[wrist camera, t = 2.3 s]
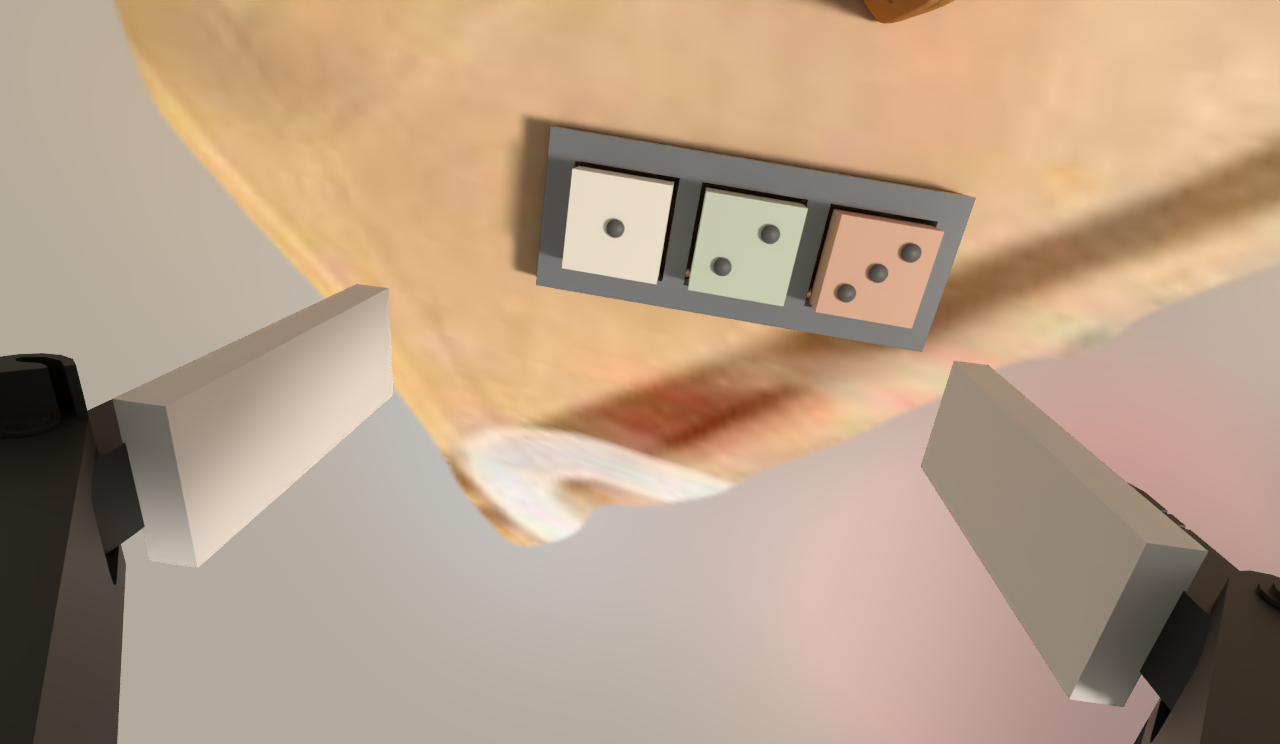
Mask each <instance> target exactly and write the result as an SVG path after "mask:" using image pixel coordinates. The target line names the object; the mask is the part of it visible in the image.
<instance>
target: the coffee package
mask: <svg viewBox="0 0 1280 744" xmlns="http://www.w3.org/2000/svg"><path fill="white" fill-rule="evenodd" d="M863 1H864V3H865V5H866V6H867V8H868V9H869V11H870V12H871V13H872V15H873V16H874V17H875V19H876V20H877V21H879V22H881V23H894V22H898V21H902V20H905V19H908V18H911V17H914V16H916V15H919V14H923V13H926V12H929V11H932V10H934V9H937V8H940V7H942V6H945V5H947V4H948V3H950V2H952V1H954V0H863Z"/></svg>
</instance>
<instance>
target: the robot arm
mask: <svg viewBox="0 0 1280 744" xmlns="http://www.w3.org/2000/svg"><path fill="white" fill-rule="evenodd" d="M392 395H393V379H392V358H391V337H390V315H389V294H388V288H382V287H374V286H367V285H359V284H356V285H354V286H352V287H350V288H347V289H345V290H343V291H341V292H339V293H337V294H335V295H333V296H330V297H328V298H326V299H324V300H322V301H320V302H318V303H316V304H314V305H311V306H309V307H307V308H305V309H303V310H301V311H299V312H296V313H295V314H293V315H290V316H288V317H286V318H284V319H282V320H280V321H278V322H276V323H273V324H271V325H269V326H267V327H265V328H262V329H260V330H258V331H256V332H254V333H252V334H250V335H248V336H245V337H243V338H241V339H239V340H237V341H235V342H233V343H231V344H228V345H226V346H224V347H222V348H220V349H218V350H216V351H214V352H211V353H209V354H208V355H205V356H203V357H201V358H199V359H197V360H194V361H192V362H190V363H188V364H186V365H184V366H182V367H179V368H177V369H175V370H173V371H171V372H169V373H167V374H165V375H162V376H160V377H158V378H156V379H154V380H152V381H150V382H148V383H145V384H143V385H141V386H139V387H137V388H135V389H133V390H131V391H128V392H126V393H124V394H122V395H120V396H118V397H116V398H114V399H112V400H109V401H107V402H105V403H103V404H101V405H99V406H97V407H94V408H92V409H90V410H88V411H87V408H86V404H85V400H84V396H83V392H82V388H81V384H80V380H79V376H78V372H77V368H76V365H75V363H74V361H73V359H71V358H68V357H65V356H62V355H54V354H43V353H40V354H18V355H10V356H3V357H0V744H117V735H118V713H119V694H120V673H121V652H122V632H123V612H124V589H125V571H126V570H125V569H126V563H125V559H124V555H123V551H122V547H121V543H123V542H124V541H125V540H127V539H128V538H130V537H131V536H132V535H134V534H135V533H137V532H138V531H139V530H141V529H142V528H143V532H144V537H145V541H146V545H147V550H148V554H149V558H150V561H156V562H163V563H169V564H176V565H182V566H189V567H195V568H198V567H199V566H200V565H201V564H203V563H204V562H205V561H206V560H207V559H208V558H209V557H211V556H212V555H213V554H214V553H215V552H216V551H217V550H218V549H220V548H221V547H222V546H223V545H224V544H225V543H226V542H227V541H229V540H230V539H231V538H232V537H233V536H234V535H235V534H236V533H238V532H239V531H240V530H241V529H242V528H243V527H244V526H246V525H247V524H248V523H249V522H250V521H251V520H252V519H253V518H255V517H256V516H257V515H258V514H259V513H260V512H261V511H263V510H264V509H265V508H266V507H267V506H268V505H269V504H270V503H271V502H273V501H274V500H275V499H276V498H277V497H278V496H279V495H281V494H282V493H283V492H284V491H285V490H286V489H287V488H288V487H290V486H291V485H292V484H293V483H294V482H295V481H296V480H298V479H299V478H300V477H301V476H302V475H303V474H304V473H305V472H307V471H308V470H309V469H310V468H311V467H312V466H313V465H314V464H316V463H317V462H318V461H319V460H320V459H321V458H322V457H323V456H325V455H326V454H327V453H328V452H329V451H330V450H331V449H333V448H334V447H335V446H336V445H337V444H338V443H339V442H340V441H342V440H343V439H344V438H345V437H346V436H347V435H348V434H349V433H351V432H352V431H353V430H354V429H355V428H356V427H357V426H358V425H360V424H361V423H362V422H363V421H364V420H365V419H366V418H367V417H369V416H370V415H371V414H372V413H373V412H374V411H375V410H377V409H378V408H379V407H380V406H381V405H382V404H383V403H384V402H386V401H387V400H388V399H389V398H390V397H391V396H392ZM921 468H922V469H923V471H924V472H925V474H926V476H927V477H928V479H929V480H930V482H931V483H932V485H933V486H934V488H935V490H936V491H937V493H938V494H939V496H940V498H941V499H942V501H943V502H944V504H945V505H946V507H947V509H948V510H949V512H950V513H951V515H952V516H953V518H954V519H955V521H956V522H957V524H958V526H959V527H960V529H961V530H962V532H963V534H964V535H965V537H966V538H967V540H968V541H969V543H970V545H971V546H972V548H973V549H974V551H975V552H976V554H977V556H978V557H979V559H980V560H981V562H982V563H983V565H984V566H985V568H986V570H987V571H988V573H989V574H990V576H991V577H992V579H993V581H994V582H995V584H996V585H997V587H998V588H999V590H1000V592H1001V593H1002V595H1003V596H1004V598H1005V599H1006V601H1007V603H1008V604H1009V606H1010V607H1011V609H1012V610H1013V612H1014V613H1015V615H1016V617H1017V618H1018V620H1019V621H1020V623H1021V624H1022V626H1023V627H1024V629H1025V631H1026V632H1027V634H1028V635H1029V637H1030V639H1031V640H1032V642H1033V643H1034V645H1035V646H1036V648H1037V649H1038V651H1039V653H1040V654H1041V656H1042V657H1043V659H1044V660H1045V662H1046V664H1047V665H1048V667H1049V668H1050V670H1051V671H1052V673H1053V675H1054V676H1055V678H1056V679H1057V681H1058V682H1059V684H1060V685H1061V687H1062V689H1063V690H1064V692H1065V693H1066V695H1067V696H1068V698H1069V699H1073V700H1079V701H1086V702H1092V703H1099V704H1105V705H1112V706H1119V707H1124V705H1125V703H1126V702H1127V700H1128V698H1129V696H1130V694H1131V692H1132V691H1133V689H1134V687H1135V685H1136V683H1137V681H1138V679H1139V678H1140V676H1141V674H1142V675H1143V677H1144V678H1145V679H1146V680H1147V681H1148V683H1149V684H1150V685H1151V687H1152V688H1153V689H1154V690H1155V692H1156V693H1157V694H1158V695H1159V697H1160V699H1159V701H1158V703H1157V704H1156V706H1155V708H1154V710H1153V711H1152V713H1151V715H1150V716H1149V718H1148V720H1147V722H1146V723H1145V725H1144V727H1143V729H1142V731H1141V732H1140V734H1139V736H1138V737H1137V739H1136V741H1135V743H1134V744H1280V578H1279V577H1276V576H1273V575H1270V574H1265V573H1260V572H1254V571H1239V570H1238V569H1237V568H1235V567H1234V566H1233V565H1232V564H1231V563H1229V562H1228V561H1227V560H1226V559H1225V558H1223V557H1222V556H1221V555H1220V554H1219V553H1217V552H1216V551H1215V550H1214V549H1213V548H1211V547H1210V546H1209V545H1208V544H1207V543H1205V542H1204V541H1203V540H1202V539H1201V538H1199V537H1198V536H1197V535H1196V534H1195V533H1193V532H1192V531H1191V530H1187V529H1185V527H1186V526H1185V525H1184V524H1183V523H1181V522H1180V521H1179V520H1178V519H1177V518H1175V517H1174V516H1173V515H1172V514H1167V510H1166V509H1165V508H1163V507H1162V506H1161V505H1160V504H1159V503H1157V502H1156V501H1155V500H1154V499H1153V498H1151V497H1150V496H1149V495H1148V494H1147V493H1145V492H1144V491H1142V490H1140V489H1138V488H1137V487H1135V486H1133V485H1131V484H1129V483H1128V482H1126V481H1125V480H1123V479H1122V478H1121V477H1120V476H1119V475H1118V474H1116V473H1115V472H1114V471H1113V470H1112V469H1110V468H1109V467H1108V466H1107V465H1106V464H1105V463H1103V462H1102V461H1101V460H1100V459H1098V458H1097V457H1096V456H1095V455H1094V454H1093V453H1092V452H1090V451H1089V450H1088V449H1087V448H1086V447H1084V446H1083V445H1082V444H1081V443H1080V442H1079V441H1077V440H1076V439H1075V438H1074V437H1073V436H1071V435H1070V434H1069V433H1068V432H1067V431H1065V430H1064V429H1063V428H1062V427H1061V426H1060V425H1058V424H1057V423H1056V422H1055V421H1054V420H1052V419H1051V418H1050V417H1049V416H1048V415H1046V414H1045V413H1044V412H1043V411H1042V410H1041V409H1039V408H1038V407H1037V406H1036V405H1035V404H1034V403H1032V402H1031V401H1030V400H1029V399H1028V398H1026V397H1025V396H1024V395H1023V394H1022V393H1021V392H1019V391H1018V390H1017V389H1016V388H1015V387H1013V386H1012V385H1011V384H1010V383H1009V382H1008V381H1006V380H1005V379H1004V378H1003V377H1001V376H1000V375H999V374H998V373H997V372H996V371H995V370H993V369H992V368H991V367H990V366H989V365H982V364H975V363H967V362H959V361H954V362H953V365H952V369H951V372H950V375H949V378H948V381H947V384H946V388H945V391H944V394H943V397H942V400H941V404H940V407H939V410H938V413H937V416H936V419H935V422H934V426H933V429H932V432H931V435H930V438H929V442H928V445H927V448H926V451H925V455H924V458H923V461H922V464H921Z"/></svg>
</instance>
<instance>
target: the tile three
mask: <svg viewBox="0 0 1280 744" xmlns="http://www.w3.org/2000/svg"><path fill="white" fill-rule="evenodd" d="M943 235H944V231H942V230H940V229H937V228H935V227H933V226H931V225H927V224H921V223H915V222H909V221H903V220H897V219H891V218H885V217H880V216H874V215H868V214H862V213H856V212H850V211H844V210H838V209H833V213H832V217H831V220H830V224H829V228H828V232H827V235H826V239H825V243H824V247H823V250H822V254H821V258H820V262H819V265H818V269H817V273H816V277H815V280H814V284H813V288H812V292H811V295H810V299H809V302H810V304H811V305H812V307H813V309H814V310H815V312H818V313H824V314H830V315H835V316H841V317H847V318H853V319H859V320H864V321H870V322H876V323H882V324H887V325H893V326H899V327H905V328H911V329H912V327H913V324H914V321H915V318H916V315H917V312H918V309H919V306H920V303H921V300H922V297H923V294H924V291H925V288H926V285H927V282H928V279H929V276H930V273H931V270H932V267H933V264H934V261H935V259H936V256H937V253H938V250H939V247H940V244H941V241H942V238H943Z"/></svg>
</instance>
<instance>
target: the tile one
mask: <svg viewBox="0 0 1280 744" xmlns="http://www.w3.org/2000/svg"><path fill="white" fill-rule="evenodd" d="M673 187H674V182H672V181H667V180H661V179H655V178H649V177H643V176H637V175H631V174H625V173H619V172H613V171H607V170H602V169H596V168H590V167H584V166H578V167H576V168H573V169H572V177H571V187H570V196H569V205H568V215H567V224H566V233H565V243H564V252H563V261H562V268H564V269H570V270H575V271H581V272H587V273H593V274H599V275H604V276H610V277H616V278H622V279H627V280H633V281H639V282H645V283H651V284H657V280H658V276H659V271H660V265H661V259H662V253H663V247H664V241H665V235H666V229H667V223H668V217H669V211H670V205H671V199H672V193H673Z"/></svg>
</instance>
